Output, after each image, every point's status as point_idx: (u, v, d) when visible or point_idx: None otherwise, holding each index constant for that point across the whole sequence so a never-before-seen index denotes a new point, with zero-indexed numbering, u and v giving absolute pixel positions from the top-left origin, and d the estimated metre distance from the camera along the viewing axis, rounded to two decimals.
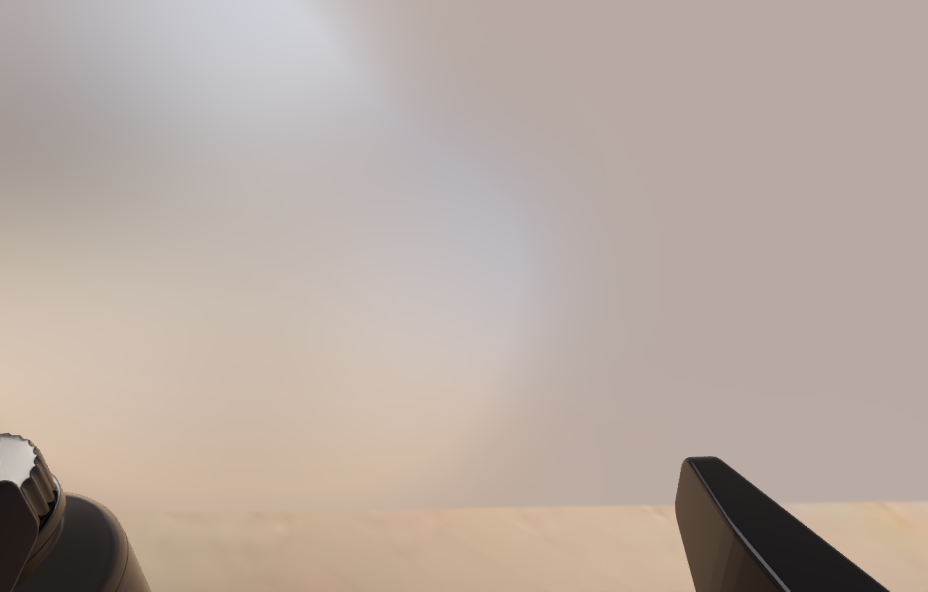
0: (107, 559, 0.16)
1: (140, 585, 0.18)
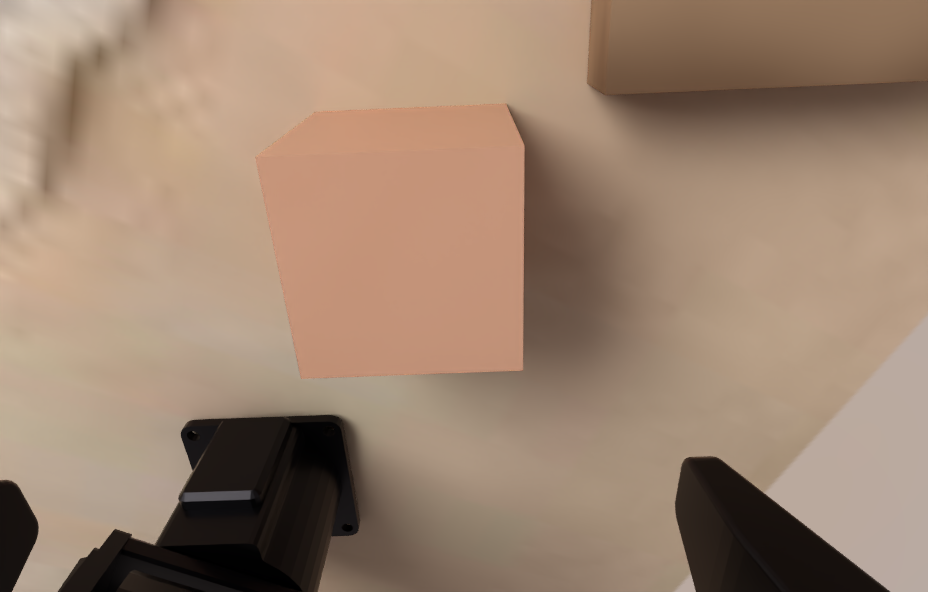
0: None
1: None
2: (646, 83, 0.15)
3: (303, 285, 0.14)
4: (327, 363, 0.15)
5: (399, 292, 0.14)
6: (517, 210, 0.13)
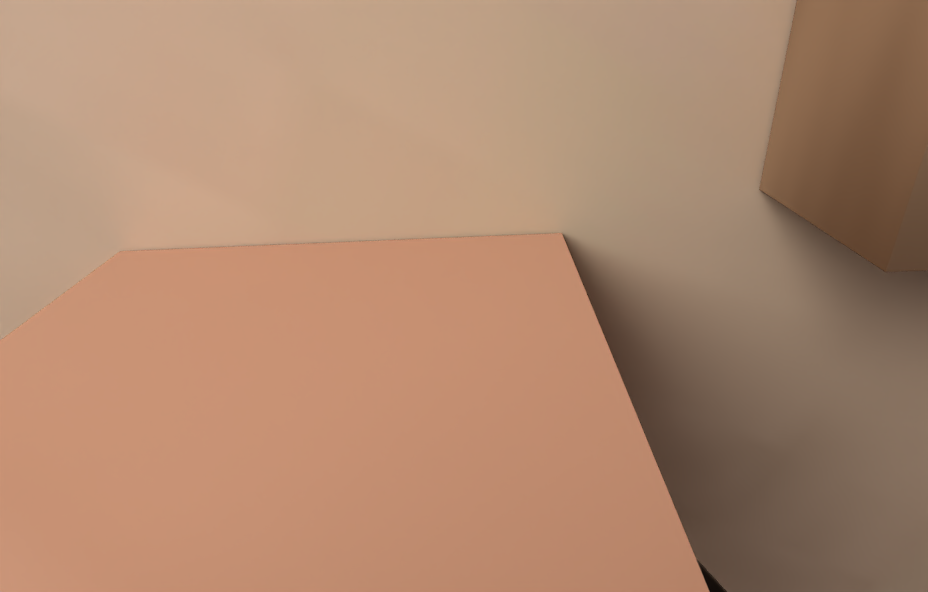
0: None
1: None
2: None
3: None
4: None
5: None
6: None
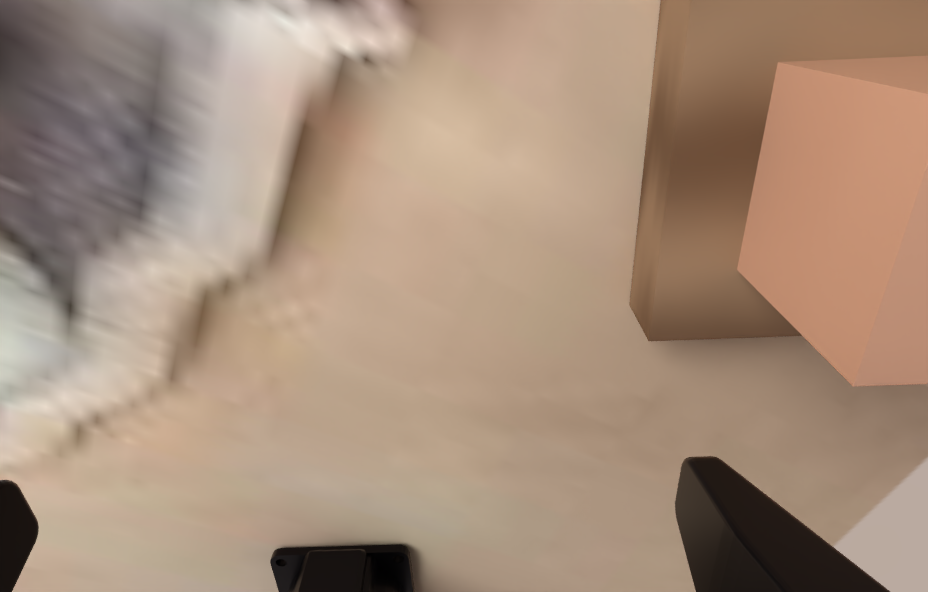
0: None
1: None
2: (682, 333, 0.19)
3: (920, 268, 0.11)
4: (896, 367, 0.12)
5: None
6: None
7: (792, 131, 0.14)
